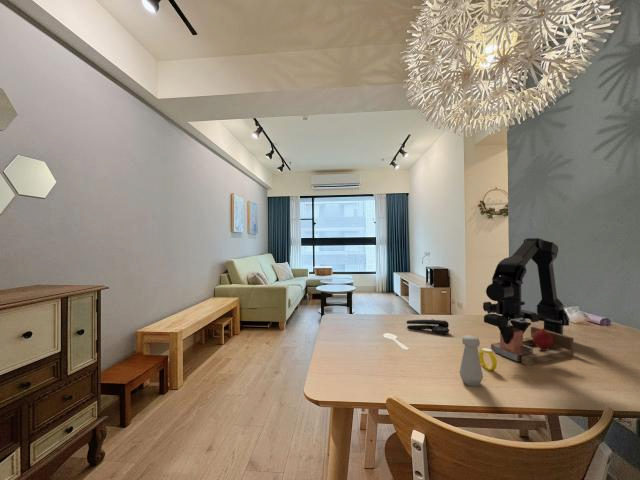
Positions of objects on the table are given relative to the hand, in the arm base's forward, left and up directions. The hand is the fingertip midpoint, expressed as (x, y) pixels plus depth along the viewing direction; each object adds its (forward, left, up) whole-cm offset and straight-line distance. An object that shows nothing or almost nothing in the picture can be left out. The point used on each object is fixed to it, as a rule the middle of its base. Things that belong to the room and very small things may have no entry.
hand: (511, 342), depth 94 cm
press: (-1, 0, -4) cm, 4 cm away
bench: (-9, 0, -4) cm, 11 cm away
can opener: (+10, -31, -5) cm, 33 cm away
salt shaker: (+28, +9, -5) cm, 29 cm away
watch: (+16, +4, -5) cm, 17 cm away
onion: (-15, 0, -5) cm, 16 cm away
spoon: (+30, -25, -5) cm, 39 cm away
